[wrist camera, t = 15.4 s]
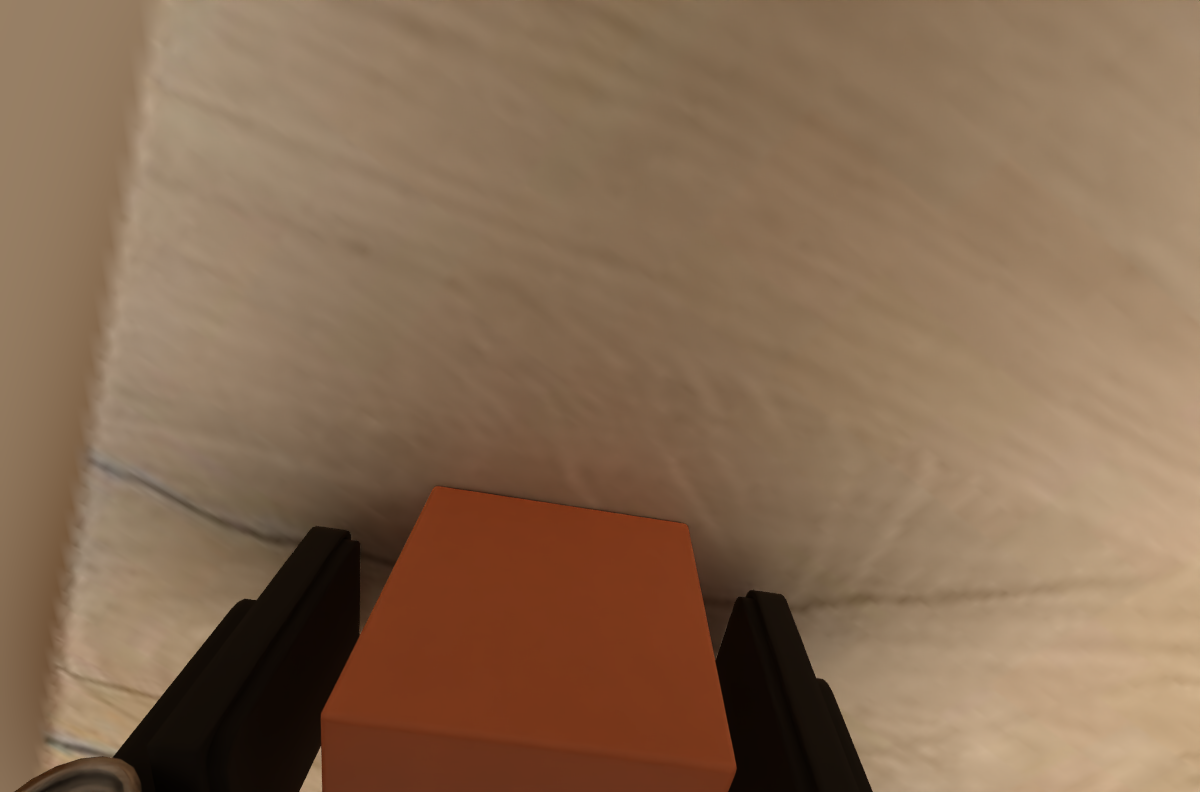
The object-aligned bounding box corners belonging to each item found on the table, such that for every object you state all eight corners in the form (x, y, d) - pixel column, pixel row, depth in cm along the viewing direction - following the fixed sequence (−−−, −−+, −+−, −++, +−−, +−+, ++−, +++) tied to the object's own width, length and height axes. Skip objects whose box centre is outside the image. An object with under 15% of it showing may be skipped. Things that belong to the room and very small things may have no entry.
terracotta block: (434, 482, 10) (316, 715, 6) (689, 521, 10) (741, 770, 6) (420, 671, 12) (322, 950, 8) (639, 700, 12) (655, 985, 8)
